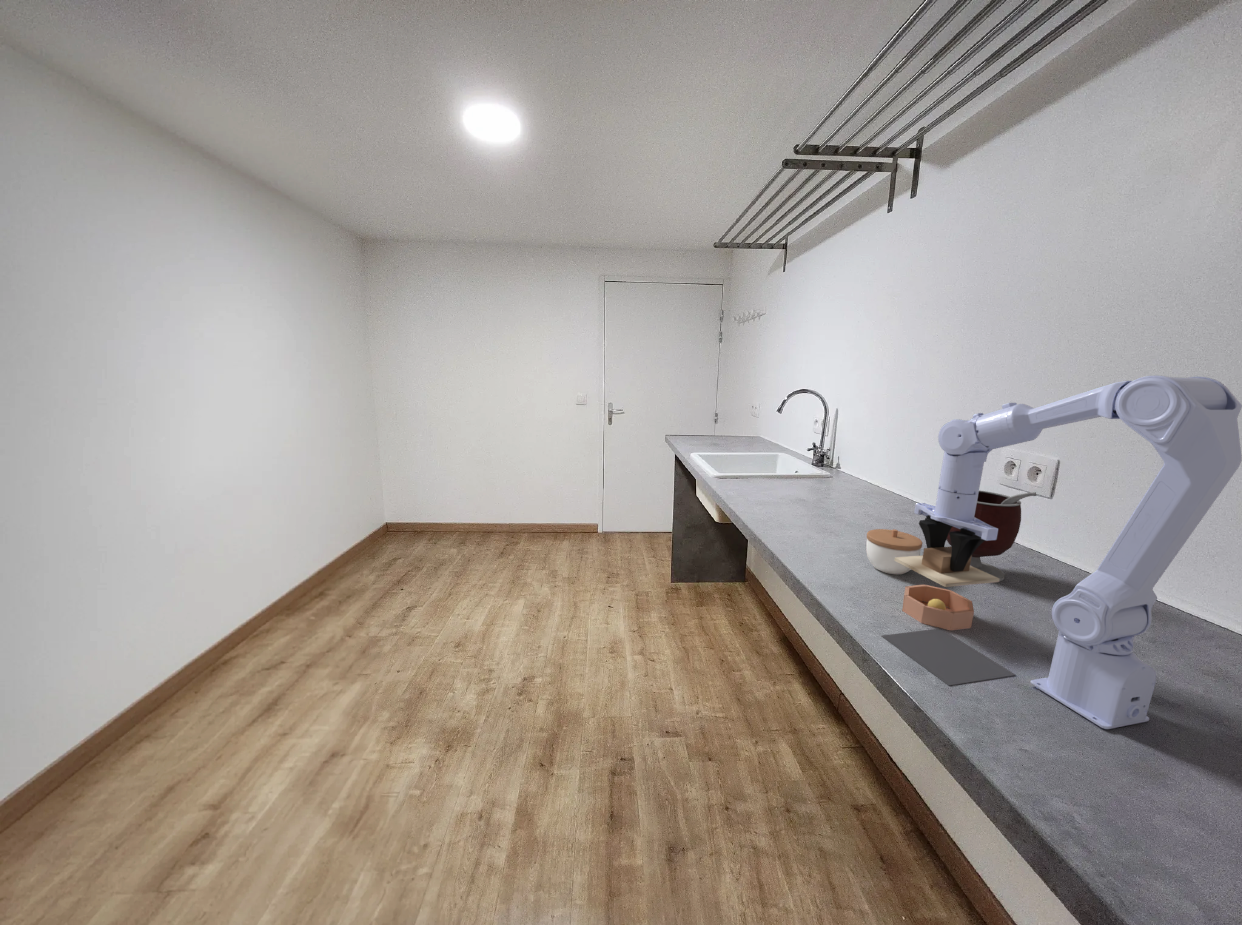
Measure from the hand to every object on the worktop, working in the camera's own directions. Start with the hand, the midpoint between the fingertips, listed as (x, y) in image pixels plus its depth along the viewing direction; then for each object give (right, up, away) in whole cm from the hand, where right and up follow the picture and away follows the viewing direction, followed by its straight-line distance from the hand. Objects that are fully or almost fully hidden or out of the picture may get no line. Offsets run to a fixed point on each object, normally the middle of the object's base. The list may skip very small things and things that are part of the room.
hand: (945, 565), depth 87 cm
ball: (0, -10, +3) cm, 10 cm away
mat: (-6, -12, -10) cm, 17 cm away
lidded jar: (+3, -6, +23) cm, 24 cm away
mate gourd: (+22, -6, +24) cm, 33 cm away
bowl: (0, -10, +3) cm, 10 cm away
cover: (0, -1, 0) cm, 1 cm away
